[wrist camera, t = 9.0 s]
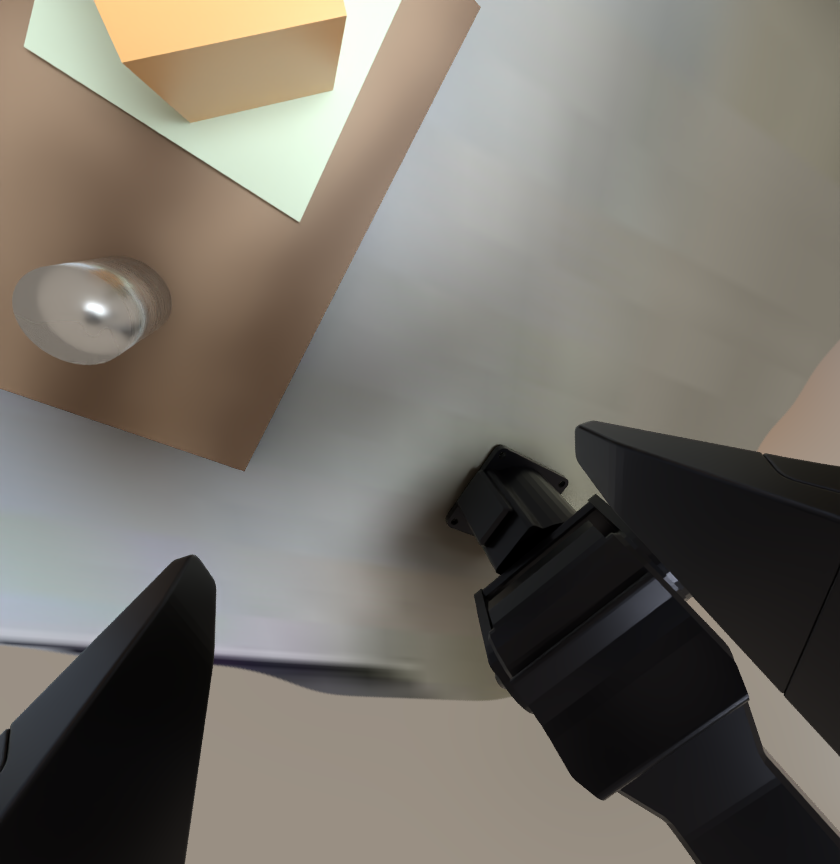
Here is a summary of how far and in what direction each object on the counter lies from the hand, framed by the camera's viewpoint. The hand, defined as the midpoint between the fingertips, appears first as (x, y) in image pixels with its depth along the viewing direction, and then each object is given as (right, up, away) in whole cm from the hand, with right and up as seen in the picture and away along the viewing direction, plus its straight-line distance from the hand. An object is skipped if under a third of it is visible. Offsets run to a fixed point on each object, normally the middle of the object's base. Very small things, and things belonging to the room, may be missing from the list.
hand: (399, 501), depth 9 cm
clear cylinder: (-11, +7, +7) cm, 15 cm away
